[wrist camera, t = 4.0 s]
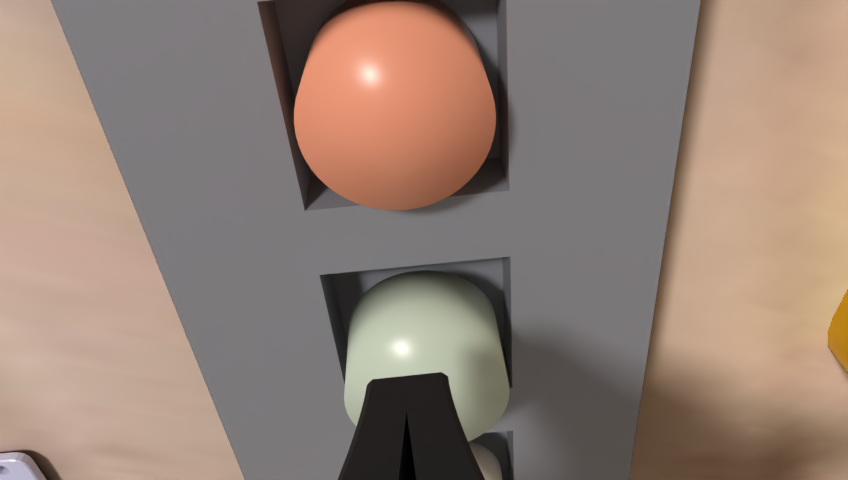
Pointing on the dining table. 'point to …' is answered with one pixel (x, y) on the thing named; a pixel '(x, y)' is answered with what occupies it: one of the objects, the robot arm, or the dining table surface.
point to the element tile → (840, 333)
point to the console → (402, 214)
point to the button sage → (429, 343)
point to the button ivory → (486, 462)
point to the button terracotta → (394, 103)
